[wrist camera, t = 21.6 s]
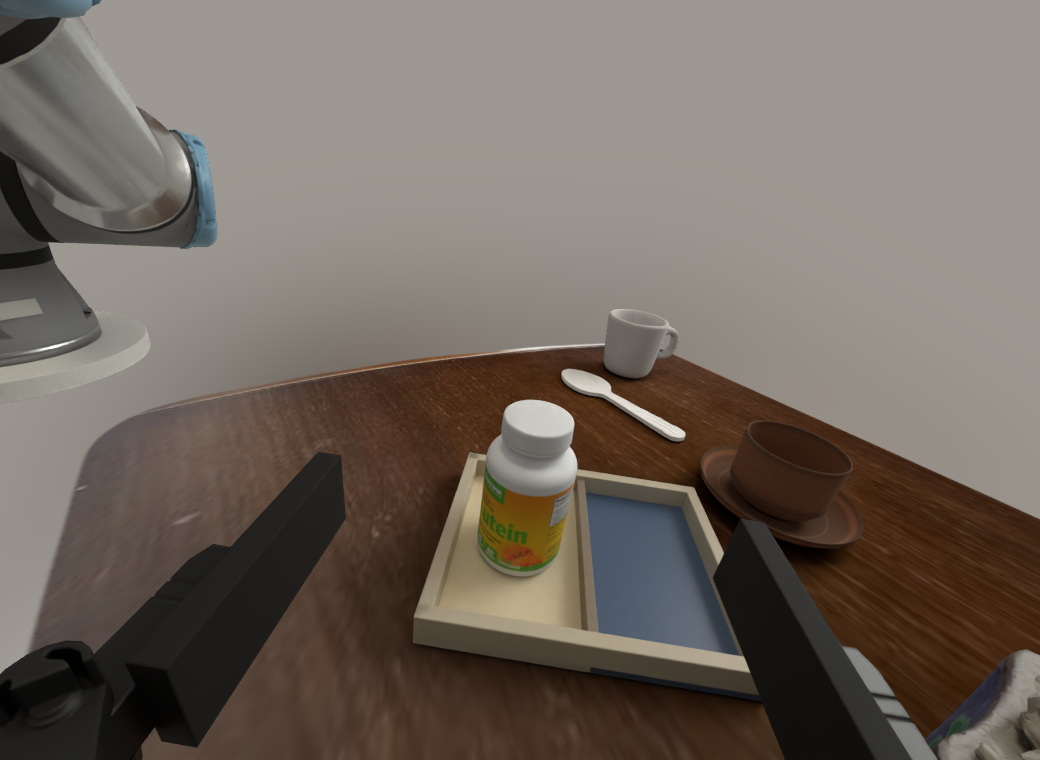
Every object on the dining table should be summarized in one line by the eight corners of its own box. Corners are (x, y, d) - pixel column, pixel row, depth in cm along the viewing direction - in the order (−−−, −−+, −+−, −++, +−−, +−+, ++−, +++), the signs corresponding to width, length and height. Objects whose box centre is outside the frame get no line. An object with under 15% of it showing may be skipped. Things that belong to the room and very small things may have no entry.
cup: (653, 361, 63) (668, 311, 60) (682, 384, 56) (700, 329, 53) (589, 359, 61) (600, 306, 57) (611, 383, 54) (625, 325, 50)
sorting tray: (412, 643, 21) (413, 617, 20) (467, 473, 34) (469, 452, 33) (765, 702, 20) (782, 678, 20) (686, 507, 33) (694, 487, 32)
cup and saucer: (733, 448, 42) (755, 396, 40) (871, 523, 34) (910, 464, 32) (667, 486, 35) (688, 425, 33) (821, 592, 27) (866, 522, 24)
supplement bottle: (459, 547, 26) (470, 415, 22) (508, 503, 30) (525, 385, 26) (529, 596, 23) (557, 458, 19) (572, 540, 28) (603, 417, 24)
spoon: (667, 447, 41) (669, 443, 41) (550, 375, 53) (551, 371, 53) (696, 434, 44) (698, 430, 44) (579, 369, 56) (580, 365, 56)
